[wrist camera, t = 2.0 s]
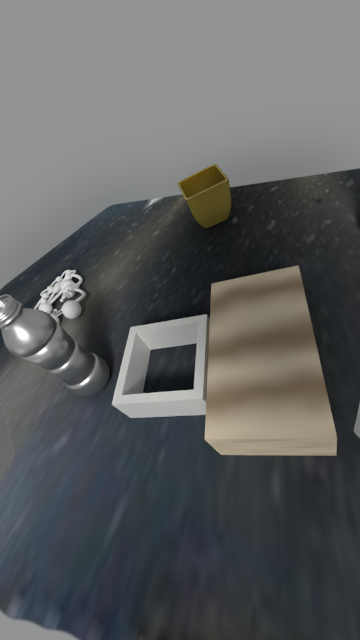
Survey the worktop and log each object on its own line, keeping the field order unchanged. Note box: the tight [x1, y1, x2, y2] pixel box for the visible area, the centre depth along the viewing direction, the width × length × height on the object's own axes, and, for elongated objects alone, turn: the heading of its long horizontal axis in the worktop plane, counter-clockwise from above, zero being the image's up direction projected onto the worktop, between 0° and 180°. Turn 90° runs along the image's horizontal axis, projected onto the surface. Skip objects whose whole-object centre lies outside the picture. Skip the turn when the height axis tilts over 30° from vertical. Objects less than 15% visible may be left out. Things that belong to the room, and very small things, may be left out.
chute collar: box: [112, 314, 210, 418], centre depth 41 cm, size 12×12×5 cm
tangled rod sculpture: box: [34, 270, 86, 324], centre depth 66 cm, size 19×14×4 cm
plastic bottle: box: [0, 294, 110, 397], centre depth 40 cm, size 6×7×20 cm
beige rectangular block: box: [205, 265, 337, 456], centre depth 36 cm, size 22×12×6 cm, turn 176°
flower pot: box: [178, 164, 231, 229], centre depth 60 cm, size 9×9×9 cm
